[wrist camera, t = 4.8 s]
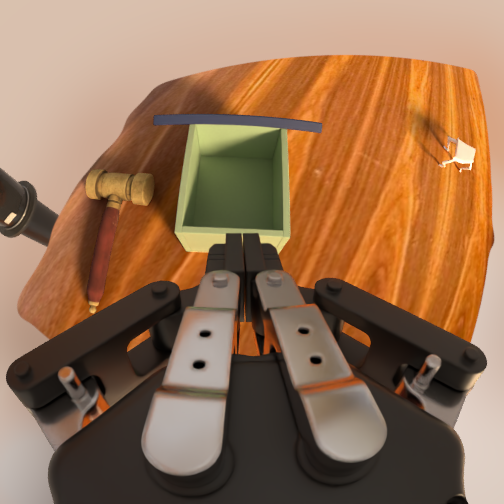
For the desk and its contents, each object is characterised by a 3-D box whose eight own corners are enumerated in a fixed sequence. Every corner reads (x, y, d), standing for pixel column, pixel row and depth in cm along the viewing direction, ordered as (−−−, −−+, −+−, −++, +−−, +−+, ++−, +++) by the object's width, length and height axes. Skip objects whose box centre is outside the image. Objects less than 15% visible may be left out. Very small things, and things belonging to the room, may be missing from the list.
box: (277, 255, 39) (290, 237, 31) (186, 251, 39) (174, 232, 30) (276, 158, 43) (286, 124, 35) (196, 154, 42) (190, 119, 34)
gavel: (116, 322, 32) (57, 304, 32) (128, 320, 37) (72, 305, 37) (149, 168, 36) (90, 164, 36) (157, 181, 41) (102, 176, 40)
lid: (321, 133, 20) (322, 123, 19) (153, 125, 19) (153, 115, 18) (287, 125, 34) (287, 119, 34) (190, 120, 33) (190, 114, 33)
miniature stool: (446, 137, 49) (457, 125, 44) (469, 165, 48) (481, 155, 43) (427, 158, 46) (440, 146, 42) (452, 190, 45) (467, 180, 41)
